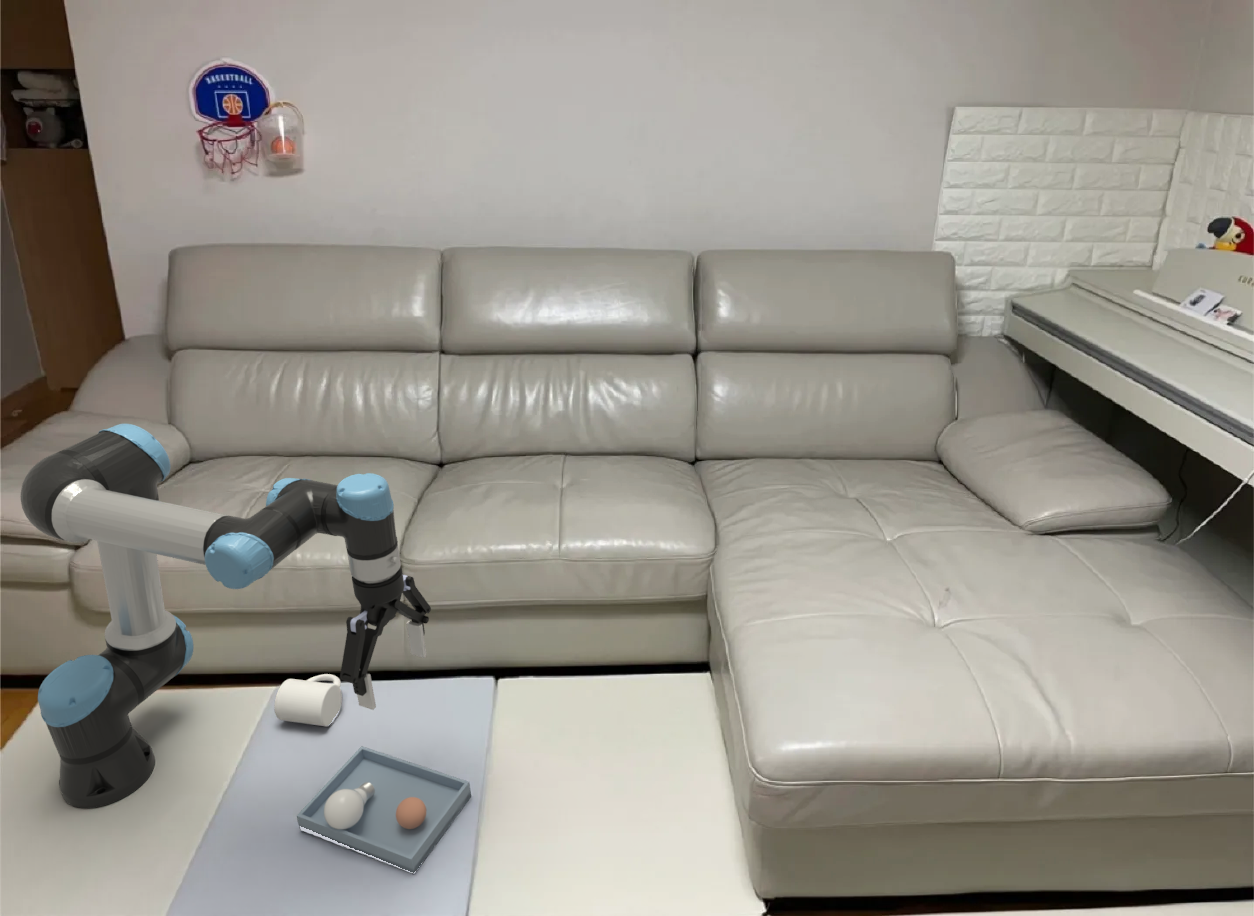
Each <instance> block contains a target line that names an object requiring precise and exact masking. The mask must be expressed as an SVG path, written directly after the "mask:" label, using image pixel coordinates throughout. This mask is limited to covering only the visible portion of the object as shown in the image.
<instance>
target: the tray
mask: <svg viewBox="0 0 1254 916" xmlns="http://www.w3.org/2000/svg"><path fill="white" fill-rule="evenodd" d="M366 782H369V783H371V784H372V785H373V786H374V789H375V793H374V795H373V796H372V797H371V798H369V799H368V800H367V801H366V803H365V805H364V810H363V814H362V816H361V818H360V820H359V821H358V822H357V823H356V824H355V825H354V826H353V827H351V828H348V829H345V830H342V829H335V828H333V827H331V826H330V825H329V824H328V823H327V822H326V820H325V817H324V806H325V803H326V801H327V799H328V798H329V797H330V796H331V795H332V794H333V793H334V792H336V791H338V790H341V789H352V790H353V789H356V788H359V787H360V786H361V785H362V784H364V783H366ZM409 797H416V798H419V799H420V800H422V801H423V803H424V804H425V806H426V817H425V820H424V821H423V823H422V824H421V825H420V826H418V827H417V828H414V829H406V828H403V827H402V826H400V825H399V823H398V822H397V819H396V810H397V807H398V805H399V804H400V803H401V802H402V801H403V800H404V799H406V798H409ZM471 797H472V791H471V785H470V781H468V780H466V779H462V778H460V777H457V776H454V775H450V774H447V773H445V772H441V771H438V770H435V769H432V768H430V767H427V766H423V765H420V764H417V763H415V762H411V761H408V760H405V759H402V758H399V757H397V756H393V755H391V754H387V753H384V752H382V751H378V750H375V749H371V748H369V747H366V746H363V745H360V746H359V748H358V749H357V750H356V752H354V753H353V755H352V756H351V757H350V758H348V760H346V762H345V763H344V764H343V765H342V766H341V767H340V768H339V770H337V772H336V773H335V774H333V775H332V777H331V778H330V779H329V780H328V781H327V782H326V784H325V785H323V786H322V788H321V789H320V790H319V791H318V792H317V793H316V794H315V795H314V797H312V798H311V800H310V801H308V803H307V804H305V806H304V807H303V808H302V809H301V810H300V812H298V813H297V814H296V819H297V823H298V826H301V827H304V828H306V829H309V830H312V831H313V832H316V833H318V834H321V835H322V836H325V837H328V838H330V839H332V840H335V841H337V842H338V843H342V844H344V845H347V846H349V847H350V848H354V849H355V850H359V851H362V852H364V853H366V854H368V855H372V856H374V857H376V858H379V859H381V860H383V861H386V862H388V863H391V864H393V865H396V866H398V867H400V868H402V869H405V870H408V871H410V872H413V873H414V872H415V871H416V870H417V869H418V868H419V869H420V867H421V866H422V865H421V863H422V862H423V861H424V862H425V860H426V859H427V858H428V856H429V855H430V854H429V853H432V851H433V850H434V848H435V847H436V845H437V844H438V843H439V841H440V840H441V839H442V837H443V836H444V834H446V832H447V830H448V829H449V827H450V826H451V825H452V823H454V820H455V819H456V818H457V816H458V815H459V814H460V812H461V811H462V810H463V808H464V807H465V805H466V804H467V803H468V801H470V799H471ZM434 846H435V847H434ZM428 854H429V855H428ZM426 857H427V858H426ZM425 858H426V859H425ZM424 859H425V860H424ZM424 862H423V863H424ZM423 863H422V864H423ZM420 865H421V866H420ZM419 866H420V867H419ZM419 869H418V870H419ZM418 870H417V871H418ZM417 871H416V872H417Z"/></svg>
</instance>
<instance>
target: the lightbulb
mask: <svg viewBox="0 0 1254 916" xmlns="http://www.w3.org/2000/svg"><path fill="white" fill-rule="evenodd" d="M374 793H375V789H374V786H373V785H372V784H371V783H369V782H366V783H364V784H362V785H361V786H360V787H359V788H356V789H353V790H352V789H341V790H338V791H336V792H334V793H333V794H332V795H331V796H330V797H329V798H328V799H327V801H326V803H325V806H324V817H325V820H326V822H327V823H328V824H329V825H330V826H331V827H333V828H335V829H342V830H345V829H348V828H351V827H353V826H354V825H355V824H356V823H357V822H358V821H359V820H360V818H361V816H362V814H363V810H364V805H365V803H366V801H367V800H368V799H369V798H371V797H372V796H373V795H374Z"/></svg>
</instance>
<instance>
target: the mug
mask: <svg viewBox="0 0 1254 916" xmlns="http://www.w3.org/2000/svg"><path fill="white" fill-rule="evenodd" d="M321 681H322V682H321ZM323 681H324V682H323ZM325 681H329V682H332V683H329V682H328V683H327V682H325ZM341 681H342V680H341V679H340V677H338V676H336V675H335V674H330V673H329V674H328V673H324V674H323V673H322V674H318V675H315V676H313V677H310V678H308V679H306V680H303V679H295V678H287V679H286V680H284V681H283V682H282V683H281V685H280V686H279V688H278V690H277V693H276V695H275V700H274V708H273V709H274V714H275V717H276V718H277V719H278V720H279V721H285V722H291V723H292V722H293V723H297V724H306V725H315V726H320V727H329V726H328V725H329V724H330V723H331V722H332V720H333V718H334V717H335V716H336V714H337V713H338V711H339V710H341V707H342V701H343V695H342V690H341V686H342V685H341V683H342V682H341ZM339 712H340V711H339Z"/></svg>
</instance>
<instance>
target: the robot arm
mask: <svg viewBox="0 0 1254 916" xmlns="http://www.w3.org/2000/svg"><path fill="white" fill-rule="evenodd" d="M171 467H172V466H171V460H170V458H169V455H168V453H167V451H166V449H165V448H164V446H163V445H162V444H161V443H160V441H159V440H157V439H156V438H155V436H154V435H153V434H151V432H149V431H148V430H146V429H144V428H142V427H141V426H138V425H135V424H131V423H120V424H116V425H113V426H112V427H111V426H110V427H108V428H105V429H104V428H103V429H101V430H99V431H98V433H97V434H95V435H92V436H90V437H87V438H86V439H83V440H82V441H81V440H80V441H79V442H77V443H75V444H72V445H70V446H68V447H66V448H64V449H61V450H59V451H58V452H56V453H52V454H50V455H48V456H46V457H44V458H42V459H41V460H40V461H38V462H37V463H36V464H34V465H33V466H32V467H31V469H30V470H29V471H28V473H27V474H26V476H24V477H25V478H24V479H23V481H22V485H21V489H20V490H21V491H20V497H19V498H20V504H21V509H22V512H23V514H24V515H25V517H26V519H27V520H28V521H29V522H30V524H31V525H33V527H35V528H36V530H38V531H39V532H42V533H43V534H45V535H46V536H48V537H51V538H53V539H57V540H62V541H66V542H69V543H83V542H87V541H88V540H91V541H92V540H93V541H96V542H97V547H98V553H99V559H100V565H101V570H102V575H103V580H104V585H105V591H106V596H107V601H108V607H109V612H110V613H109V614H110V618H111V621H110V622H109V623H108V624H107V625H106V627H105V630H104V640H105V647H106V648H105V650H103V651H101V653H99V654H86V655H81V656H78V657H76V659H74V660H73V659H69V660H67V661H66V662H64V663H62V664H60V665H58V666H57V667H56V668H54V669H53V670H52V671H50V673H49V674H47V676H46V677H44V680H42V683H41V684H40V686H39V689H38V694H37V702H38V705H39V708H40V715H41V718H42V720H43V721H44V723H45V724H46V727H47V729H48V732H49V734H50V737H51V740H52V742H53V745H54V746H55V748H56V751H57V753H58V756H59V759H60V763H59V764H60V765H59V780H58V786H59V791H60V793H61V795H62V798H63V799H64V801H65V802H66V804H69V805H70V806H72V807H74V808H80V809H94V808H99V807H103V806H106V805H110V804H113V803H115V802H118V801H119V800H122V799H124V798H126V797H128V796H129V795H130V794H132V793H134V792H135V791H136V790H137V789H139V788H140V787H141V786H142V785H143V784H145V782H146V781H147V780H148V779H149V777H150V776H151V774H152V773H153V771H154V768H155V764H156V759H155V755H154V752H153V748H152V746H151V745H150V744H149V742H147V740H145V738H143V736H141V735H140V733H138V732H137V731H136V730H135V729H134V727H133V725H132V722H131V720H130V717H129V713H131V712H132V711H133V710H135V709H136V707H138V706H139V705H140V704H141V703H143V702H145V700H146V699H148V698H149V697H151V696H152V695H153V694H155V692H157V691H158V690H160V689H161V688H162V687H163V686H164V685H165V684H167V683H168V682H169V681H170V680H171V679H173V678H174V677H176V676H178V674H179V673H180V672H181V671H182V670H183V669H184V668H185V667H186V666H187V665H188V664H189V663H190V661H191V659H192V657H193V655H194V645H195V644H194V639H193V637H192V634H191V632H190V630H187V629H186V628H187V625H186V624H185V623H184V622H183V621H182V620H181V619H180V618H179V617H177V615H174V614H173V613H171V612H170V611H168V610H166V609H165V608H166V607H165V603H164V595H163V594H164V593H163V589H162V582H161V576H160V575H161V573H160V569H159V562H158V561H159V560H158V555H159V556H164V557H166V558H167V557H168V558H172V559H178V560H181V561H185V562H190V563H195V564H199V565H202V566H203V565H204V566H205V568H206V570H207V571H208V573H209V575H210V576H211V577H212V579H214V580H215V581H216V583H217V582H218V583H219V582H221V584H222V585H223V586H224V587H225V588H228V589H232V590H242V589H245V588H247V587H249V586H250V585H251V584H253V583H254V582H255V581H257V580H260V579H262V578H264V577H265V576H266V575H267V574H268V573H269V572H270V571H271V570H273V569H274V568H275V567H276V566H278V565H279V564H280V563H281V562H282V561H283V560H285V559H286V558H287V557H289V556H290V555H291V554H292V553H293V552H295V551H296V550H297V549H299V548H300V547H301V546H302V545H304V544H305V543H306V542H308V541H309V540H311V538H313V537H314V536H315V535H317V534H323V535H327V536H331V537H332V536H333V537H342V538H343V539H344V544H345V549H346V553H347V558H348V565H349V567H348V568H349V571H350V576H351V582H352V588H353V593H354V597H355V598H356V600H357V601H358V603H359V604H360V610H359V614H358V615H357V616H355V617H352V616H348V617H347V619H346V622H345V623H346V624H345V625H346V637H345V644H344V649H343V654H342V655H343V656H342V660H341V668H340V673H339V679H340V681H344V682H347V683H350V684H352V687H353V688H352V689H353V692H354V694H356V697H357V702H358V706H360V707H363V708H365V709H369V710H372V711H374V710H375V709H376V708H377V704H376V698H375V693H374V688H373V682H372V676H371V674H370V673H368V670H369V667H370V664H371V660H372V658H373V657H372V656H373V654H374V651H375V647H376V644H377V641H378V637H380V636H381V635H383V631H384V627H385V626H387V625H388V623H390V621H392V620H393V619H394V618H395V617H396V614H397V613H398V614H399V615H402V616H404V618H406V619H409V620H408V621H406V623H405V624H406V632H407V638H408V644H409V651H410V655H413V656H417V657H419V658H422V659H425V658H426V657H427V649H426V643H425V642H426V641H425V633H426V630H425V625H426V624H428V622H429V621H430V620H429V619H430V617H429V616H428V615H427V614H430V612H431V610H432V608H431V606H430V604H429V603H428V601H427V600H426V599H425V597H424V596H423V595H422V593H421V592H420V590H419V589H418V588H417V586H416V583H415V578H414V577H413V576H410V575H406V574H404V573H403V569H402V566H401V565H402V564H401V558H400V556H401V555H400V551H399V549H400V548H399V541H398V537H397V532H396V531H397V530H396V522H395V512H394V511H395V510H394V506H395V505H394V501H393V498H392V493H391V491H390V485H389V483H388V481H387V479H386V478H385V477H383V476H382V475H379V474H376V473H372V472H366V473H365V474H363V473H355V474H352V475H349V476H347V477H345V478H343V479H342V480H341V481H340V482H338V484H332V483H327V482H322V481H317V480H312V479H309V478H297V477H294V478H293V477H285V478H282V479H280V480H278V481H277V482H275V483H274V484H273V485H272V489H271V490H270V491H268V493H267V497H266V500H265V507H264V508H261V509H260V510H259V511H258V512H256V513H254V514H252V516H250V517H247V518H245V517H238V516H234V515H233V516H232V515H228V514H223V513H218V512H215V511H214V512H213V511H208V510H205V509H201V508H200V509H198V508H194V507H189V506H185V505H180V504H176V503H171V502H164V501H161V500H160V499H159V492H158V490H159V489H158V483H161V482H164V481H165V480H166V478H167V477H168V476H169V475H170V472H171ZM402 595H404V597H405V599H407V601H408V602H409V604H410V605H411V606H412V607H413V608H412V607H410V606H409V605H408V604H406V603H405V602H402V600H401V598H402ZM424 624H425V625H424ZM369 625H371V626H373V627H376V628H375V629H374V628H371V627H369Z"/></svg>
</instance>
